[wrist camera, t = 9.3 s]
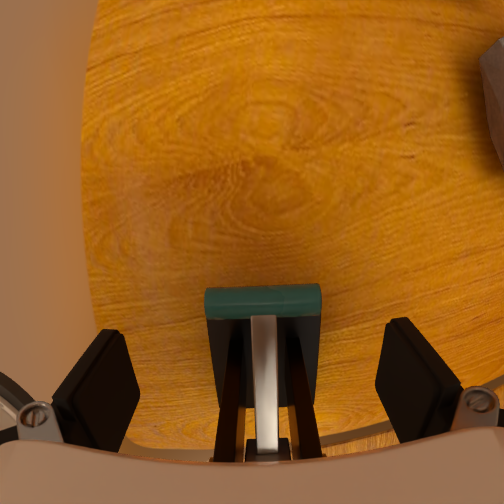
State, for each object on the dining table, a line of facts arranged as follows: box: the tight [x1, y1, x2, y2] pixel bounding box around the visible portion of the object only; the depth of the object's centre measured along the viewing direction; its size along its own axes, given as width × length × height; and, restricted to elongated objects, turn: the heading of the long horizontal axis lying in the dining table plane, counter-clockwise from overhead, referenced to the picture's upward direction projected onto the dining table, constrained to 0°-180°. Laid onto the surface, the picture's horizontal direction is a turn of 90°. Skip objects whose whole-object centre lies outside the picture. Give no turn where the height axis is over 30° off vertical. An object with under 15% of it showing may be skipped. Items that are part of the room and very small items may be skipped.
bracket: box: [206, 313, 327, 463], centre depth 18 cm, size 10×8×13 cm
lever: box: [204, 283, 322, 463], centre depth 14 cm, size 11×5×2 cm, turn 3°
